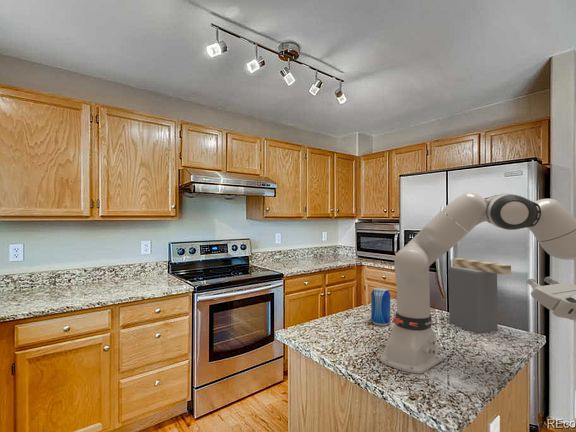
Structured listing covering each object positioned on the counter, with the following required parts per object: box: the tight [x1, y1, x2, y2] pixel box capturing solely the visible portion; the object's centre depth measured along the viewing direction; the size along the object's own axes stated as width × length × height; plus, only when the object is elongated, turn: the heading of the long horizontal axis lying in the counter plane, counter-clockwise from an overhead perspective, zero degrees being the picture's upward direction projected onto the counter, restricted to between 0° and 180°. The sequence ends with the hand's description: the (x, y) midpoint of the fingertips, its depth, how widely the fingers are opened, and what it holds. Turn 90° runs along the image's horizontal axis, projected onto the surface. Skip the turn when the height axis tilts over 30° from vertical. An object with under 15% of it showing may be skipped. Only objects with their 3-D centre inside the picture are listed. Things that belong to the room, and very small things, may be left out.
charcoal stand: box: [448, 266, 499, 335], centre depth 136 cm, size 14×12×26 cm
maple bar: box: [452, 257, 512, 276], centre depth 133 cm, size 24×4×4 cm, turn 20°
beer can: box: [370, 286, 391, 327], centre depth 141 cm, size 8×8×16 cm
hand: (537, 279), depth 112 cm, fingers open, 8 cm apart
